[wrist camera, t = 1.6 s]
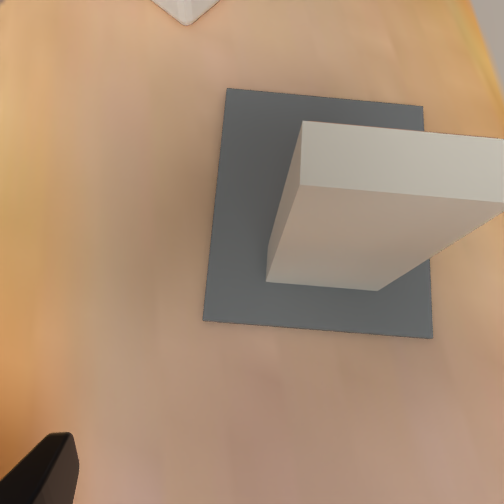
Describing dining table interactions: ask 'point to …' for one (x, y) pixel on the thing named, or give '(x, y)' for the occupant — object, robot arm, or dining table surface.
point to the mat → (264, 213)
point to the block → (379, 202)
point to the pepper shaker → (185, 9)
